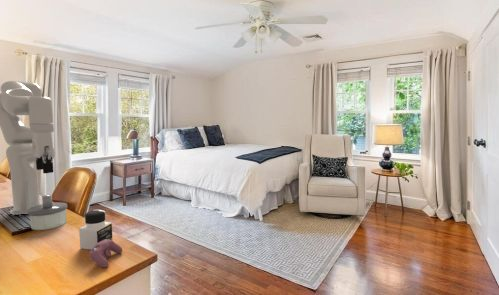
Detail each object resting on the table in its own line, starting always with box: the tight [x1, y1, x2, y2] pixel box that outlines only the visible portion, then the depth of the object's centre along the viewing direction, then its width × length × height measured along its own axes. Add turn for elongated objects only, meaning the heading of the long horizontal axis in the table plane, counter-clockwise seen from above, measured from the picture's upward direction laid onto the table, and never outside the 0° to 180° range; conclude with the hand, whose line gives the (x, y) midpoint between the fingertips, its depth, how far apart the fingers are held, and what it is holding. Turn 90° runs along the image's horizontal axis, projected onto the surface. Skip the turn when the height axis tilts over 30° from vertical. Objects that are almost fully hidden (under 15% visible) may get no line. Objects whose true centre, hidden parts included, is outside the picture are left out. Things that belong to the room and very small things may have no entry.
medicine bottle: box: [78, 209, 114, 251], centre depth 94 cm, size 7×7×12 cm
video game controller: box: [88, 239, 123, 268], centre depth 84 cm, size 10×5×7 cm, turn 179°
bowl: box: [29, 209, 68, 231], centre depth 111 cm, size 12×12×6 cm
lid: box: [27, 194, 68, 217], centre depth 111 cm, size 13×13×6 cm
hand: (44, 171), depth 109 cm, fingers open, 9 cm apart
